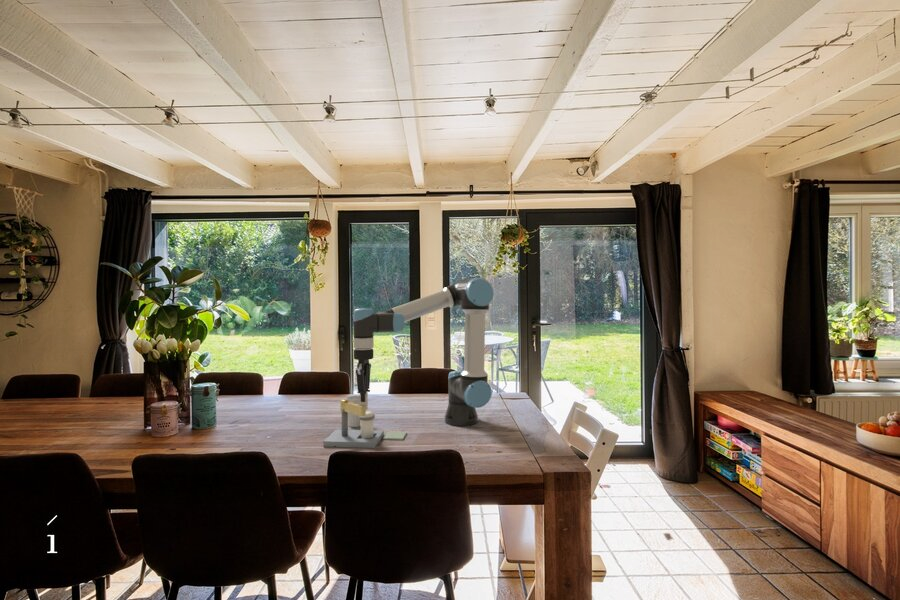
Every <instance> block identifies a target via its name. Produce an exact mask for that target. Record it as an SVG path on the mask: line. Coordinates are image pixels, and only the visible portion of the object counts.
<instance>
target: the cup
mask: <svg viewBox="0 0 900 600" xmlns="http://www.w3.org/2000/svg"><path fill="white" fill-rule="evenodd" d="M345 399H348V400H349V402H352V403H356V404H360V395H351V396H347V397H345ZM348 427H351V428H352V427H353V428H357V427H361V420H360V419H359V416H358V415H355V414H351V413H348Z"/></svg>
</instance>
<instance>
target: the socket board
mask: <svg viewBox="0 0 900 600" xmlns="http://www.w3.org/2000/svg"><path fill="white" fill-rule="evenodd" d="M384 432H385V430H383V429H381V430H380V429H379V430H378V429H374V438H373V439H361V429H349V426H348V412H345V411H341V429H340V428H339V429H338V428H337V429H335V430H334V431H333V432H331V433H330V434H329V435H328V436H327V437H326V438H324V440H323V441H322V444H323V445H322V446H323V447H325V448H326V447H327V448H328V447H329V448H330V447H331V448H365V449H366V448H368V449H369V448H370V449H371V448H372V449H375V448H376V447H377V446H378V444H379V442H380V441H381V440H382V439H383V438H384V436H385V433H384ZM334 446H336V447H334Z"/></svg>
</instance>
